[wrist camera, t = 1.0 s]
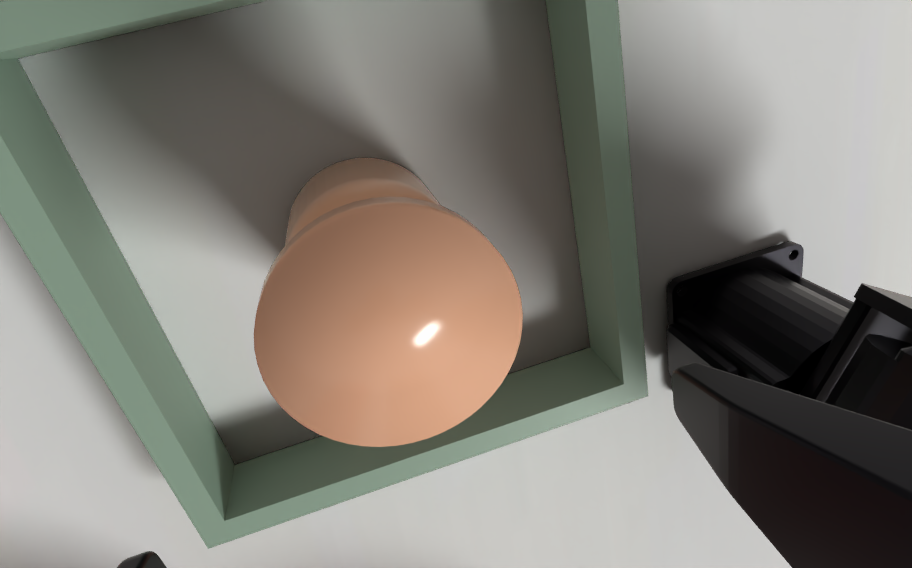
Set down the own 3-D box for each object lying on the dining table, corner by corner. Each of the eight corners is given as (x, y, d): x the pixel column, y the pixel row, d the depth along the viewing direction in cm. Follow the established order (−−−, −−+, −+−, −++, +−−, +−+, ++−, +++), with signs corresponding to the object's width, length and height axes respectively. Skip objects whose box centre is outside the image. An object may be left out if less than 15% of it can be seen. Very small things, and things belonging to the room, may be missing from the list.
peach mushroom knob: (429, 125, 19) (497, 173, 12) (466, 284, 22) (540, 400, 15) (247, 173, 19) (206, 256, 11) (310, 332, 21) (308, 479, 14)
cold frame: (562, -106, 17) (607, -133, 15) (612, 358, 25) (648, 395, 23) (-41, 29, 15) (-116, 26, 13) (220, 490, 23) (208, 548, 20)
